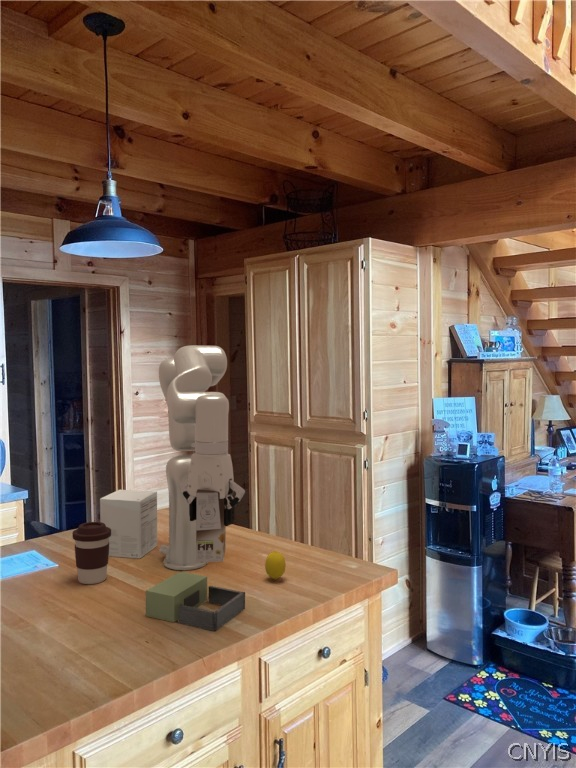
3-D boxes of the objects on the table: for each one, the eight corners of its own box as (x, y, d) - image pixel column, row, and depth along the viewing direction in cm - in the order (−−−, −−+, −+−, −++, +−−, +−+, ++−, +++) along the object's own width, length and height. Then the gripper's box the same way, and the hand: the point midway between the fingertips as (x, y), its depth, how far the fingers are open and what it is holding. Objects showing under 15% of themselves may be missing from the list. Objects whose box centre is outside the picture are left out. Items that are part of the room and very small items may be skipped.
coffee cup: (119, 576, 170) (119, 522, 169) (93, 589, 161) (93, 532, 160) (91, 571, 174) (90, 518, 173) (64, 582, 165) (64, 527, 164)
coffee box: (224, 562, 141) (224, 492, 140) (195, 562, 140) (195, 492, 139) (225, 549, 150) (226, 483, 149) (199, 549, 149) (199, 483, 149)
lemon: (283, 584, 166) (283, 554, 165) (262, 582, 167) (263, 553, 166) (287, 577, 171) (287, 548, 171) (267, 575, 172) (267, 546, 172)
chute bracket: (178, 622, 142) (178, 605, 141) (210, 601, 154) (210, 585, 154) (215, 631, 137) (215, 613, 137) (245, 608, 150) (245, 592, 150)
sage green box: (145, 615, 145) (145, 590, 145) (180, 594, 158) (180, 571, 158) (175, 622, 142) (175, 596, 141) (208, 600, 154) (208, 576, 154)
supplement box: (158, 545, 197) (158, 491, 196) (140, 559, 184) (140, 500, 183) (119, 542, 200) (119, 488, 199) (99, 555, 187) (98, 498, 186)
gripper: (171, 447, 144) (171, 521, 145) (236, 453, 137) (236, 531, 138) (189, 443, 151) (189, 514, 152) (252, 448, 143) (252, 522, 144)
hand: (211, 522), depth 145 cm, fingers closed on coffee box, 8 cm apart
